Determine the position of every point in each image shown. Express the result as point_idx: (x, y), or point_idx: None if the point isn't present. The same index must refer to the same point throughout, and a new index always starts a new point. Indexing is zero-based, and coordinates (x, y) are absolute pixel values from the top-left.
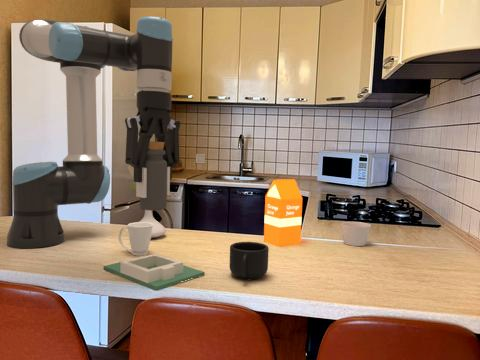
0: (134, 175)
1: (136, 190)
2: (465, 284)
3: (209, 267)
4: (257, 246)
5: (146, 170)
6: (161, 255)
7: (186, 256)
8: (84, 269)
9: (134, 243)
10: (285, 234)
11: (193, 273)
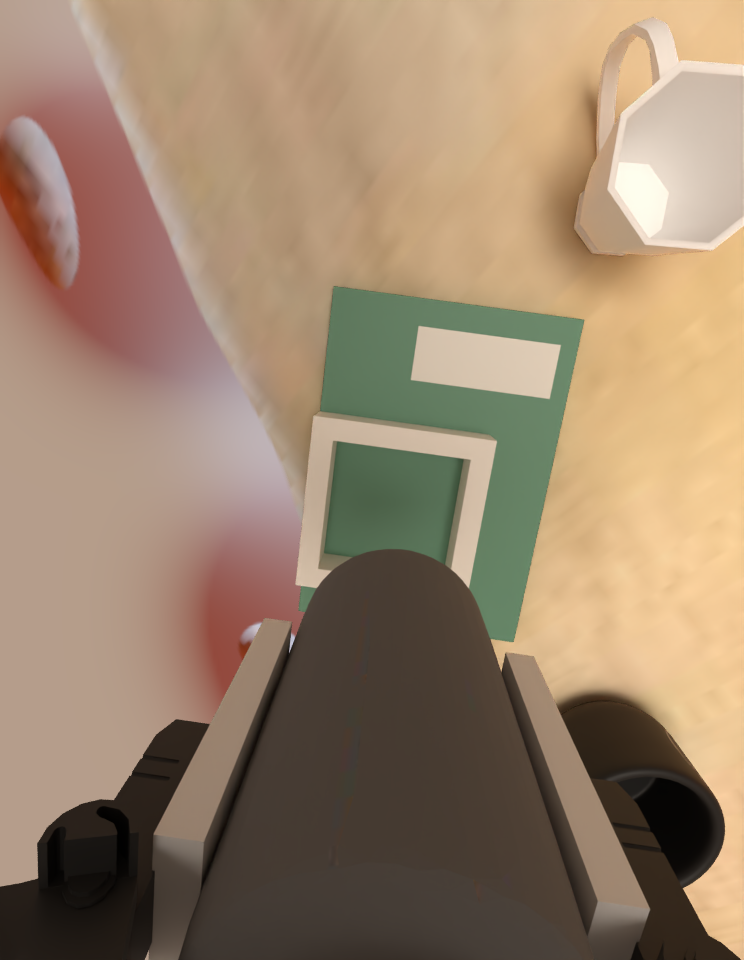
0: (133, 783)
1: (249, 650)
2: None
3: (603, 597)
4: (704, 827)
5: None
6: (489, 480)
7: (690, 430)
8: (285, 223)
9: (584, 211)
10: None
11: None
